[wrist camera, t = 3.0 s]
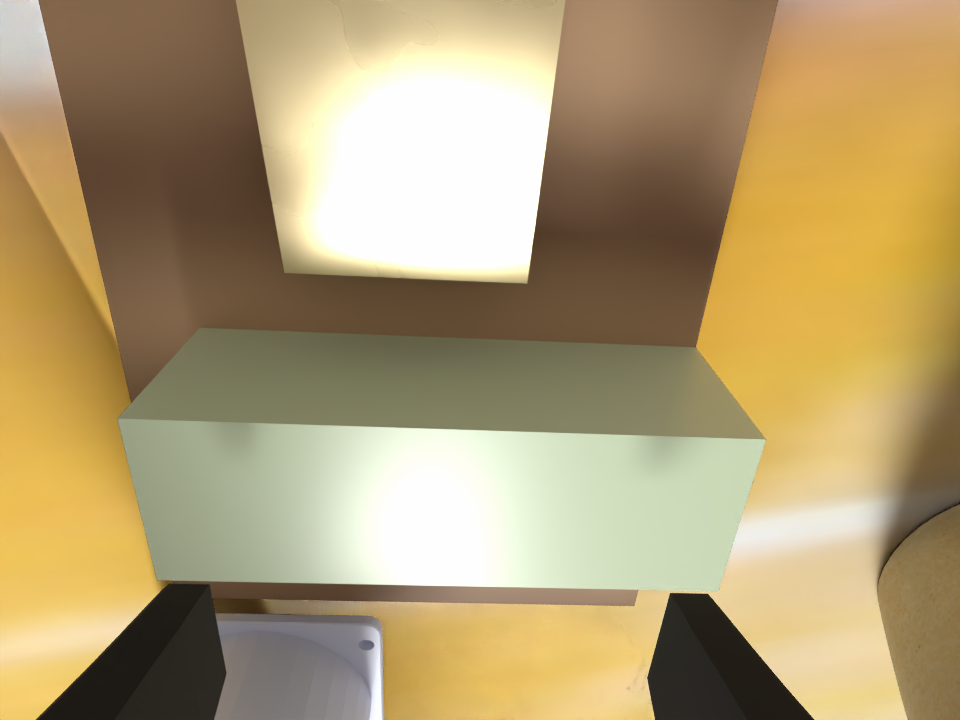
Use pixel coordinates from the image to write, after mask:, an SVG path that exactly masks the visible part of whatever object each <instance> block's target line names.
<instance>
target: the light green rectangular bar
mask: <svg viewBox="0 0 960 720" xmlns="http://www.w3.org/2000/svg"><path fill="white" fill-rule="evenodd" d="M117 420H118V424H119V428H120V432H121V436H122V440H123V444H124V448H125V452H126V456H127V461H128V465H129V469H130V473H131V477H132V481H133V485H134V489H135V493H136V497H137V501H138V505H139V509H140V513H141V517H142V521H143V526H144V530H145V534H146V538H147V542H148V546H149V550H150V554H151V558H152V562H153V566H154V570H155V574H156V578H157V580H170V581H221V582H271V583H322V584H373V585H423V586H474V587H524V588H575V589H625V590H676V591H718V589H719V586H720V583H721V580H722V577H723V574H724V570H725V567H726V564H727V561H728V558H729V555H730V552H731V548H732V545H733V542H734V539H735V536H736V533H737V530H738V526H739V523H740V520H741V517H742V514H743V511H744V508H745V504H746V501H747V498H748V495H749V492H750V489H751V486H752V482H753V479H754V476H755V473H756V470H757V467H758V464H759V460H760V457H761V454H762V451H763V448H764V445H765V442H766V439H765V437H764V436H763V435H762V433H761V432H760V431H759V430H758V428H757V427H756V426H755V424H754V423H753V422H752V420H751V419H750V418H749V416H748V415H747V414H746V412H745V411H744V410H743V409H742V407H741V406H740V405H739V403H738V402H737V401H736V399H735V398H734V397H733V395H732V394H731V393H730V392H729V390H728V389H727V388H726V386H725V385H724V384H723V382H722V381H721V380H720V378H719V377H718V376H717V374H716V373H715V372H714V371H713V369H712V368H711V367H710V365H709V364H708V363H707V361H706V360H705V359H704V357H703V356H702V355H701V353H700V352H699V351H698V350H697V348H696V347H676V346H651V345H625V344H600V343H574V342H549V341H524V340H498V339H473V338H448V337H422V336H397V335H371V334H346V333H321V332H295V331H270V330H245V329H219V328H199V329H198V330H197V331H196V332H195V334H194V335H193V336H192V337H191V338H190V339H189V340H188V341H187V342H186V343H185V345H184V346H183V347H182V348H181V349H180V350H179V351H178V352H177V353H176V354H175V356H174V357H173V358H172V359H171V360H170V361H169V362H168V363H167V364H166V365H165V367H164V368H163V369H162V370H161V371H160V372H159V373H158V374H157V375H156V377H155V378H154V379H153V380H152V381H151V382H150V383H149V384H148V385H147V386H146V388H145V389H144V390H143V391H142V392H141V393H140V394H139V395H138V396H137V397H136V399H135V400H134V401H133V402H132V403H131V404H130V405H129V406H128V407H127V408H126V410H125V411H124V412H123V413H122V414H121V415H120V416H119V417H118V418H117Z"/></svg>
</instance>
